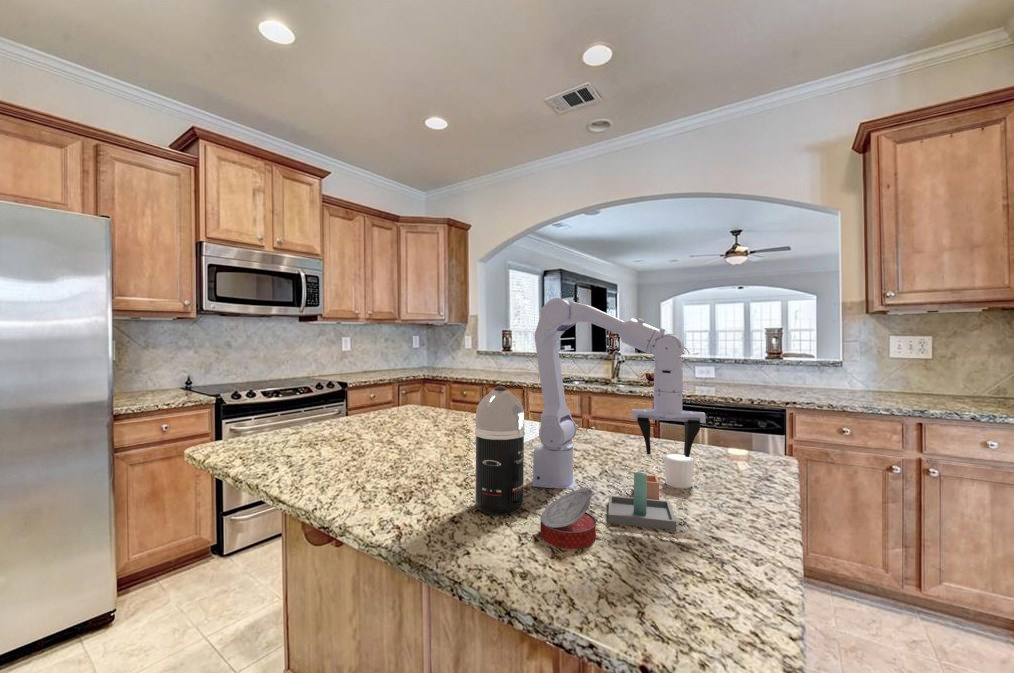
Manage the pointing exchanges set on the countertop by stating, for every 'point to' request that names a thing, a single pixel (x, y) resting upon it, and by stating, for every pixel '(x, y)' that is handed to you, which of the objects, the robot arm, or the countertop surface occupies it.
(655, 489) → the open box
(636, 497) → the pin
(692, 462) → the white short cylinder
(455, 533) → the countertop surface
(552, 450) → the robot arm
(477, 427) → the black bottle
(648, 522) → the tray
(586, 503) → the canned food
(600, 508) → the countertop surface
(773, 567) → the countertop surface
